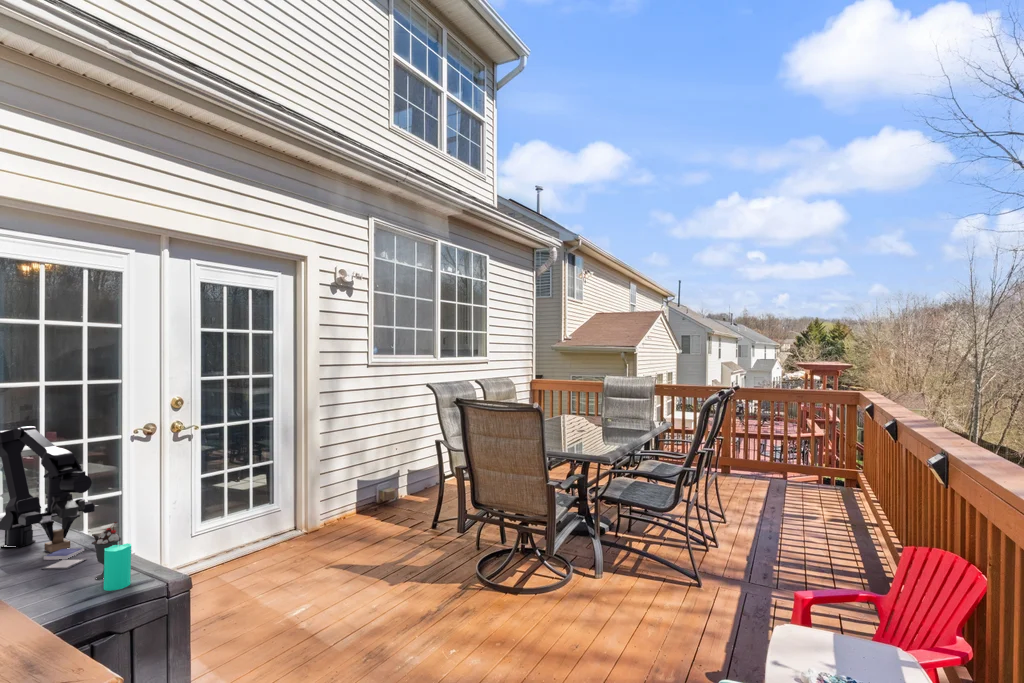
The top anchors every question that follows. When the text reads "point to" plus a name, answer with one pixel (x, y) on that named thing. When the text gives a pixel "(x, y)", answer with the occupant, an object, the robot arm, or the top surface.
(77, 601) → the top surface
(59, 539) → the stamp
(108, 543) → the sundae
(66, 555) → the ink pad
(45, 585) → the top surface
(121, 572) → the candle
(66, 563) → the marked card
